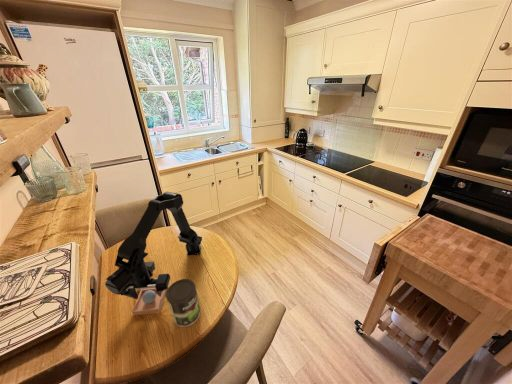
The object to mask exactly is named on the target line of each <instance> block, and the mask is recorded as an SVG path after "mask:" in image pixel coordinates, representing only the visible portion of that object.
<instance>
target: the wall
mask: <svg viewBox="0 0 512 384" xmlns="http://www.w3.org/2000/svg"><path fill="white" fill-rule="evenodd" d="M155 285H156V284H153V285H148V286H147V287H145V288H136V291H138V292H140V291H141V289H146V288H155Z"/></svg>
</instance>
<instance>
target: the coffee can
mask: <svg viewBox="0 0 512 384" xmlns="http://www.w3.org/2000/svg"><path fill="white" fill-rule="evenodd" d="M198 297H199V296H198V293H197V289H196V283H195V282H194V281H193V280H192V279H189V278H183V279H182V278H181V279H179V280H176V281H174V282H173V283H172V284H170V285H169V286H168V288H167V290H166V294H165V298H166V300H167V302H168V306H169V308H170V312H171V314H172V318H173V321H174V323H175V325H176V326H177V327H181V328H187V327H190V326H192V325H193V324H195V323H196V322H197V321H198V320H199V318H200V315H201V306H200V303H199V299H198Z"/></svg>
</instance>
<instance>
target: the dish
mask: <svg viewBox="0 0 512 384" xmlns="http://www.w3.org/2000/svg"><path fill="white" fill-rule="evenodd" d="M149 290H152V291H154V292H155V294H156V298H155V300H154V301H153V302H152V303H150V304H146V303H144V302H143V300H142V297H143V294H144V293H145V292H146V291H149ZM167 290H168V288H167V289H166V290H164V291H162V295H161V297H159V295H158V294H157V292H156V288H146V289H141V290H140V291H139V293H138V299H136V301H135V304H134V306H133V309H132V311H131V313H132V315H133V316H136V315H138V316H139V315H148V314H155V313H160V312H161V310H162V307H163V303H164V300H165V298H166V292H167Z"/></svg>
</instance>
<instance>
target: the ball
mask: <svg viewBox="0 0 512 384" xmlns="http://www.w3.org/2000/svg"><path fill="white" fill-rule="evenodd" d="M155 298H156V294H155V292H154V291H152V290H149V291H146V292H145V293H144V294H143V297H142V300H143V302H144V303H146V304H150V303H152V302H153V301H154V300H155Z"/></svg>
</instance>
